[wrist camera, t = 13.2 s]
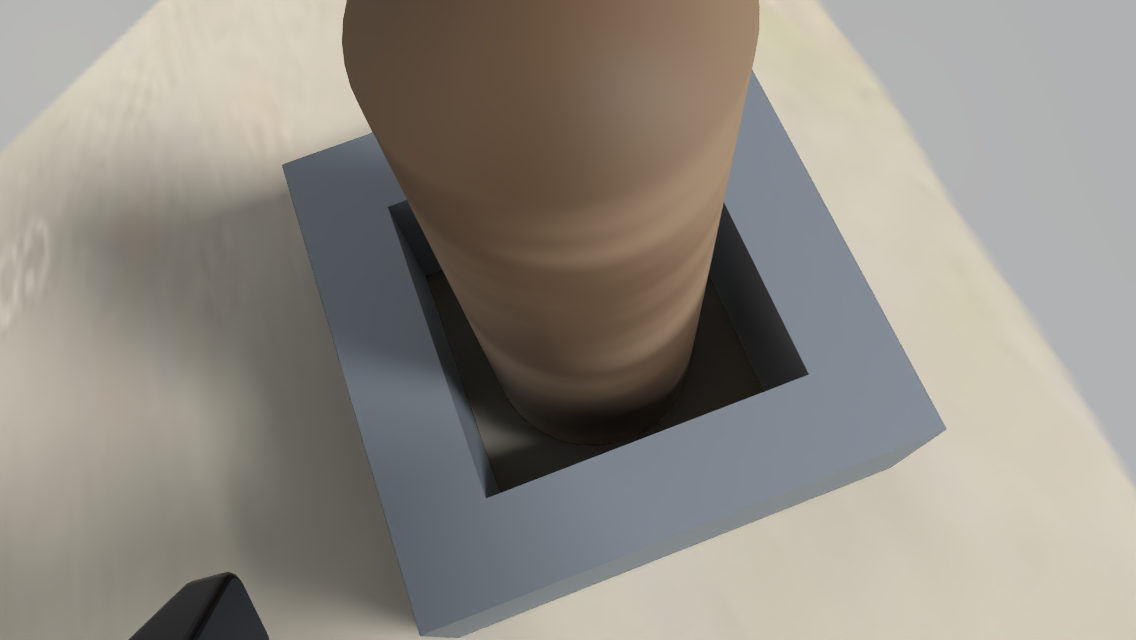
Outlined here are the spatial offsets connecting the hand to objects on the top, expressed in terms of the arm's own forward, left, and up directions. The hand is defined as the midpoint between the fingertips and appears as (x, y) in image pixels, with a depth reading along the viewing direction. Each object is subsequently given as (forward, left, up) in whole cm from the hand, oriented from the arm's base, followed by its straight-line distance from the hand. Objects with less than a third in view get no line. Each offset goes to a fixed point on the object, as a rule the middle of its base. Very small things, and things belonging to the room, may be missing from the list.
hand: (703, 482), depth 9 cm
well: (-2, -6, -13) cm, 14 cm away
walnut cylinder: (-2, -5, -13) cm, 14 cm away
